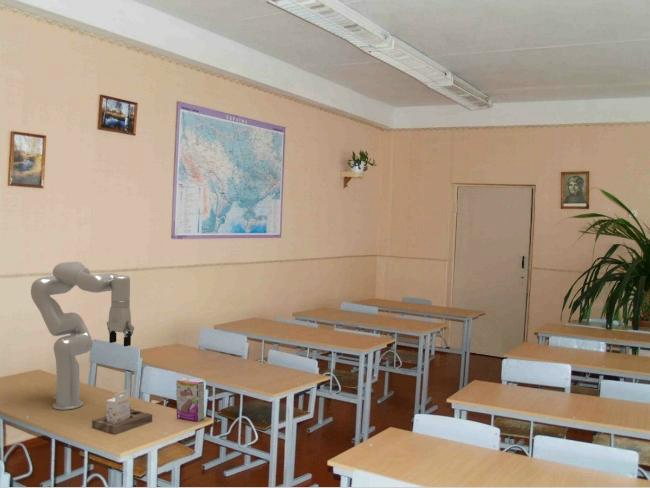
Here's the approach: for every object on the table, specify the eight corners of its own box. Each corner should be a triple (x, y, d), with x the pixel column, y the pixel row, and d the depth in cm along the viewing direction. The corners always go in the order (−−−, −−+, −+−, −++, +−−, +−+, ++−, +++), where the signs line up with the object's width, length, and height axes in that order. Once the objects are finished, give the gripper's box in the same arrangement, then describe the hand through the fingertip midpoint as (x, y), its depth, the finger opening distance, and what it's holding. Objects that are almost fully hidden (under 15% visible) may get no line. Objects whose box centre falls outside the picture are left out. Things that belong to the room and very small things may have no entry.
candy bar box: (175, 418, 271) (175, 380, 270) (183, 415, 275) (183, 377, 275) (197, 422, 266) (197, 383, 265) (204, 418, 271) (204, 380, 270)
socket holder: (92, 427, 259) (92, 420, 259) (129, 415, 275) (129, 408, 274) (114, 434, 251) (114, 426, 251) (152, 421, 267) (152, 414, 267)
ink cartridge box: (121, 422, 265) (121, 387, 265) (130, 424, 263) (130, 388, 263) (106, 428, 258) (105, 392, 257) (115, 430, 256) (115, 394, 255)
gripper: (100, 303, 274) (100, 342, 275) (125, 307, 264) (125, 348, 265) (115, 301, 280) (114, 339, 281) (140, 305, 270) (140, 345, 271)
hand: (119, 344), depth 273 cm, fingers open, 9 cm apart
